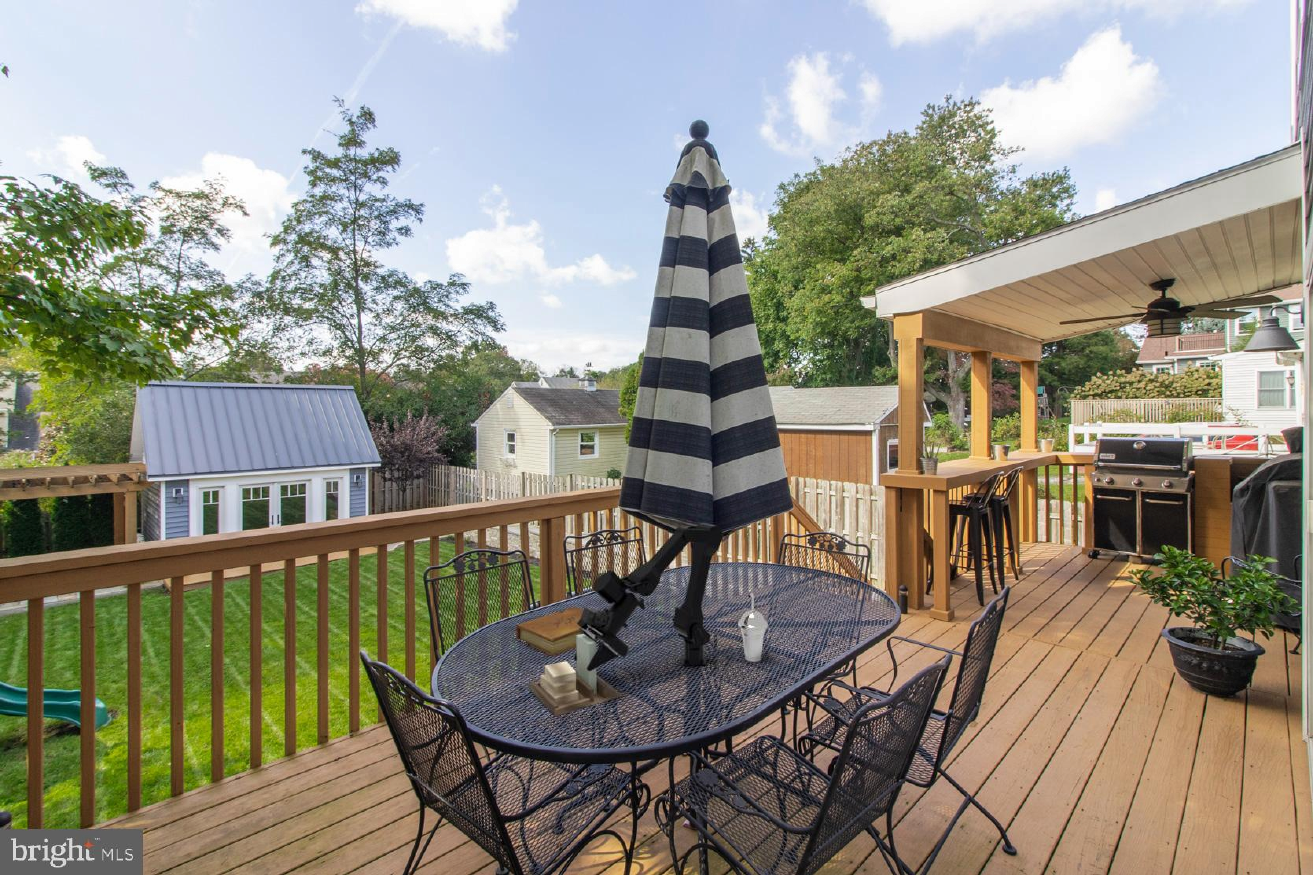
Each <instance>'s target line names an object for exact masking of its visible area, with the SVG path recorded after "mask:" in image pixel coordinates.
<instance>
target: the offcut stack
mask: <svg viewBox="0 0 1313 875" xmlns="http://www.w3.org/2000/svg"><path fill="white" fill-rule="evenodd" d="M576 675H577V671H576V670H575V669H574V668H573V667H572V666H571V664H570V663H569V662H568V661H561V662H557V663H552V664H551V663H550V664H547V665H544V673H543V674H541V675H540V677H539V679H540V680H539V681H540V685H541V689H542V690H543V691H544V692H545V693H546V694H547V695H548V696H549V697H550V698H551V699H552V700H553V701H554V702H555V703H556V704H557V705H558V706H563V705H566V704H569V703H573V702H576V701H578V691H577V690H576Z"/></svg>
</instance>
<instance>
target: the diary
mask: <svg viewBox="0 0 1313 875" xmlns="http://www.w3.org/2000/svg"><path fill="white" fill-rule="evenodd" d="M583 610H584V608H579V607H576V606H573V607H569V608H566V609H564V610H560V611H557V612H556V611H555V612H554V613H551V614H547V615H545V616H541V617H538V618H535V619H531V620H529V621H528V620H527V621H525V622H522V623H519V624H516V626H515V639H520V638H521V639H522V640H525V641H527V642H524V643H526V644H529V645H530V646H532V647H533V649H535V648H536V649H535V650H537V649H538V650H537V651H539V650H540V651H539V652H541V651H543V652H542V653H544V652H545V653H544V654H546V653H547V654H546V655H548V654H549V655H548V656H550V655H552V656H551V657H554V656H553V655H555V656H557V655H560V654H562V653H561V652H563V651H565V652H568V651H570V650H573V649H577V639H576V635H580V634H581V633H580V630H579V628H581V627H580V626H579V625H578V624H577V623H578V621H579V620H580V618H581V615H582V613H583ZM581 629H582V628H581ZM521 639H520V640H521ZM594 640H596V641H598V640H601V639H600V638H598V640H597V639H595V638H594ZM524 643H523V644H524ZM526 644H525V645H526ZM530 646H529V647H530ZM532 647H531V648H532ZM559 653H560V654H559ZM563 653H564V652H563Z"/></svg>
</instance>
